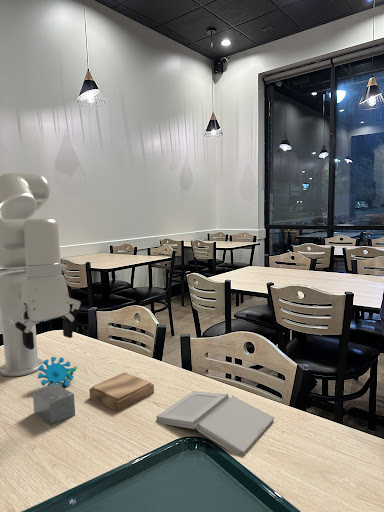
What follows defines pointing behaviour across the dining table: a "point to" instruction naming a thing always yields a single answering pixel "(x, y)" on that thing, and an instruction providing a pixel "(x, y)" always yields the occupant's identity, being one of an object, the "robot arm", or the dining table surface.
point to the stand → (121, 391)
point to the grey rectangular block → (54, 404)
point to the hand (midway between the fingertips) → (49, 342)
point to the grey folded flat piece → (219, 419)
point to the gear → (56, 372)
